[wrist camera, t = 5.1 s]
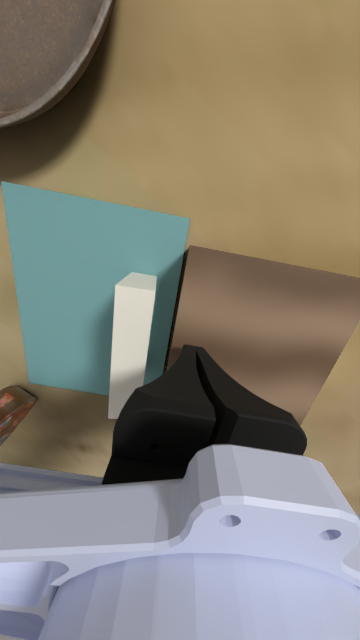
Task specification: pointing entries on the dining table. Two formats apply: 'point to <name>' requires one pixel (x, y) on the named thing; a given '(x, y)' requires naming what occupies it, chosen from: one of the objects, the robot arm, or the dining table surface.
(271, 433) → the robot arm
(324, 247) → the dining table surface
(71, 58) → the plant saucer
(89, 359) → the mat
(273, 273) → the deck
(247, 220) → the dining table surface
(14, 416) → the tin
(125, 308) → the tile
